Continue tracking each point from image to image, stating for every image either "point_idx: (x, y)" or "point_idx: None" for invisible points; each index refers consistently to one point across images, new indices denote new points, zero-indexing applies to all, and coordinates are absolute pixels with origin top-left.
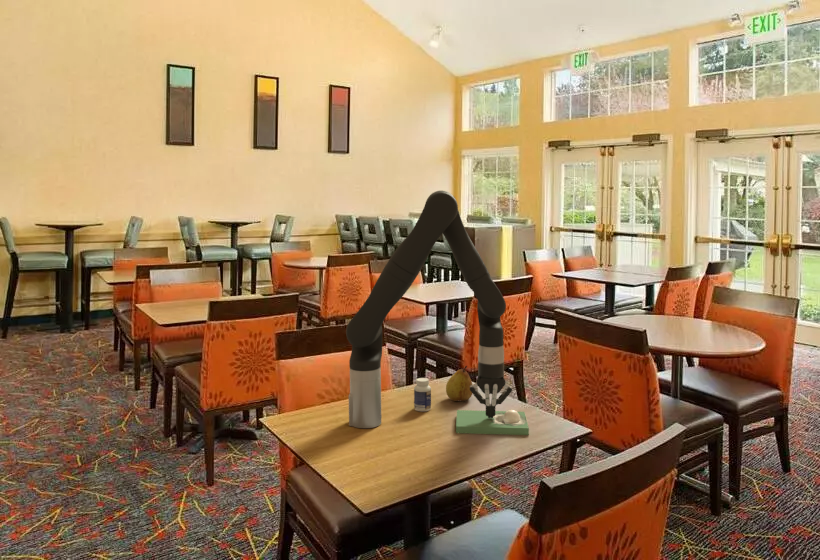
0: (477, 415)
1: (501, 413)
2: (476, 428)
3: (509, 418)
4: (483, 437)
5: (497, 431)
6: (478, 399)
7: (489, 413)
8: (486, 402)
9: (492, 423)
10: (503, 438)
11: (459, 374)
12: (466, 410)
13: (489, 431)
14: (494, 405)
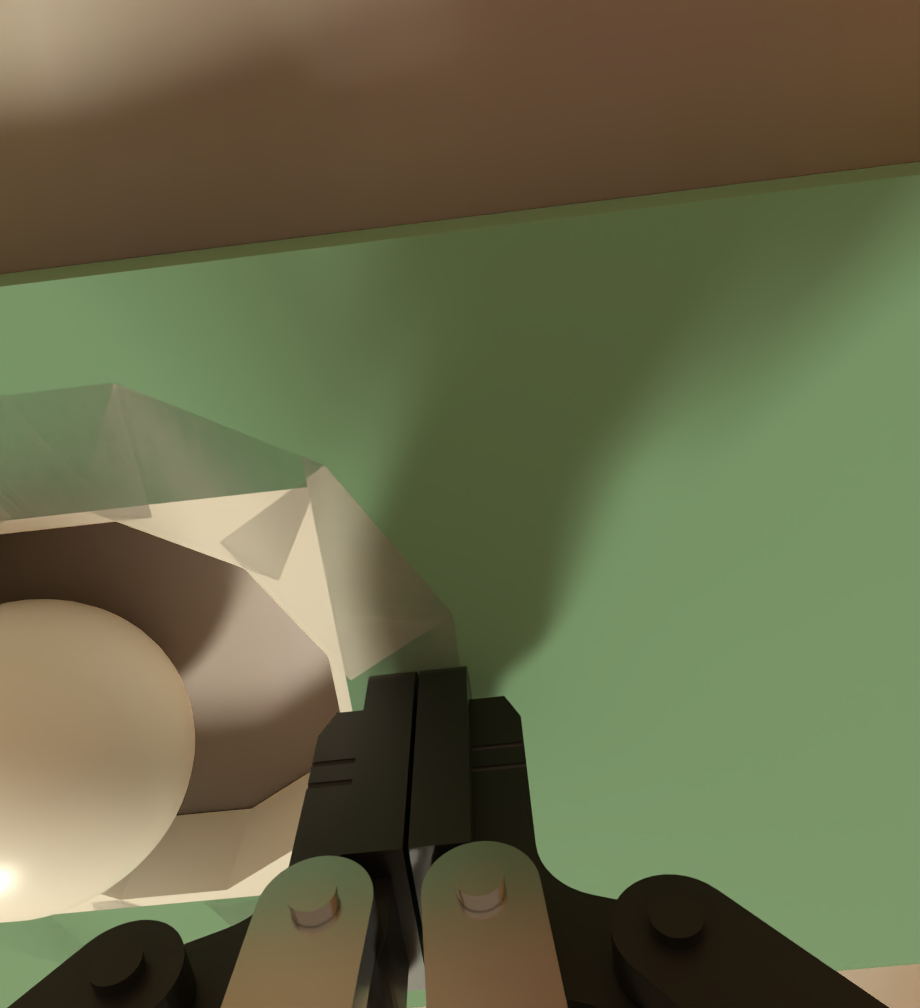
0: (669, 802)
1: None
2: (679, 203)
3: (21, 650)
4: (505, 4)
5: (241, 248)
6: (809, 984)
7: (437, 718)
8: (525, 923)
9: (360, 471)
10: (98, 28)
11: None
12: (849, 965)
13: (401, 227)
14: (298, 874)
